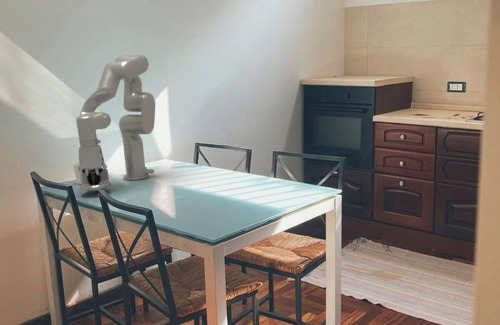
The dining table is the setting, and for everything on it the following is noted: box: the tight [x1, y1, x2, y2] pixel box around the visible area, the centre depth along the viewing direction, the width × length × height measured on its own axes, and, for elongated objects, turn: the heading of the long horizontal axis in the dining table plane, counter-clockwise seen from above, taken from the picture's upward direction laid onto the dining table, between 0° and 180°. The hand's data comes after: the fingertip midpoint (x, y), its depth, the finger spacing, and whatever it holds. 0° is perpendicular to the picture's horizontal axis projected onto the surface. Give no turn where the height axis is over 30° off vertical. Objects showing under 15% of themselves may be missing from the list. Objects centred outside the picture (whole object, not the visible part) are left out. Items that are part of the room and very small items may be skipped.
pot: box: [81, 167, 110, 183], centre depth 258 cm, size 12×17×7 cm
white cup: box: [72, 161, 82, 185], centre depth 264 cm, size 8×8×10 cm
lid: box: [79, 172, 111, 193], centre depth 241 cm, size 13×13×8 cm
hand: (94, 182), depth 242 cm, fingers closed on lid, 2 cm apart
